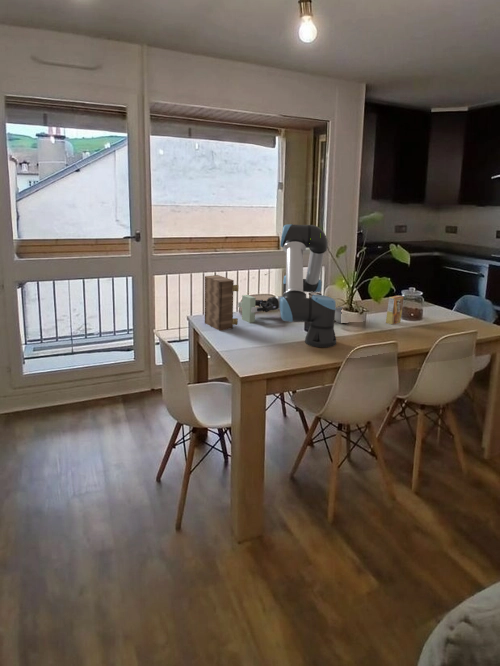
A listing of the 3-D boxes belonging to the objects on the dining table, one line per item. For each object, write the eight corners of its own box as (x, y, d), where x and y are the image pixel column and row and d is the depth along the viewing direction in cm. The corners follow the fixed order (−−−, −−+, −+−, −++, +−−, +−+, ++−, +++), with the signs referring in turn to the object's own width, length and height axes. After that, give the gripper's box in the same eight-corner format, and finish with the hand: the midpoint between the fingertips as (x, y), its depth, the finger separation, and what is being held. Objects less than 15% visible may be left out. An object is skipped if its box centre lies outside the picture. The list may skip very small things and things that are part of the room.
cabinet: (237, 329, 259) (239, 280, 251) (221, 331, 253) (222, 282, 246) (220, 320, 273) (221, 274, 265) (204, 323, 268) (204, 276, 260)
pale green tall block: (256, 321, 273) (257, 297, 269) (249, 322, 271) (250, 298, 267) (248, 318, 280) (248, 294, 275) (241, 319, 277) (242, 295, 273)
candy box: (394, 320, 284) (397, 295, 280) (400, 322, 281) (404, 296, 276) (385, 323, 279) (388, 297, 274) (391, 325, 276) (394, 298, 271)
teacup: (353, 325, 272) (355, 311, 270) (334, 324, 272) (335, 310, 270) (349, 318, 286) (350, 305, 283) (331, 318, 286) (332, 304, 283)
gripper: (288, 314, 274) (257, 319, 263) (262, 304, 294) (232, 308, 282) (289, 301, 272) (257, 305, 261) (263, 292, 292) (233, 296, 280)
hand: (244, 307), depth 271 cm, fingers open, 13 cm apart
